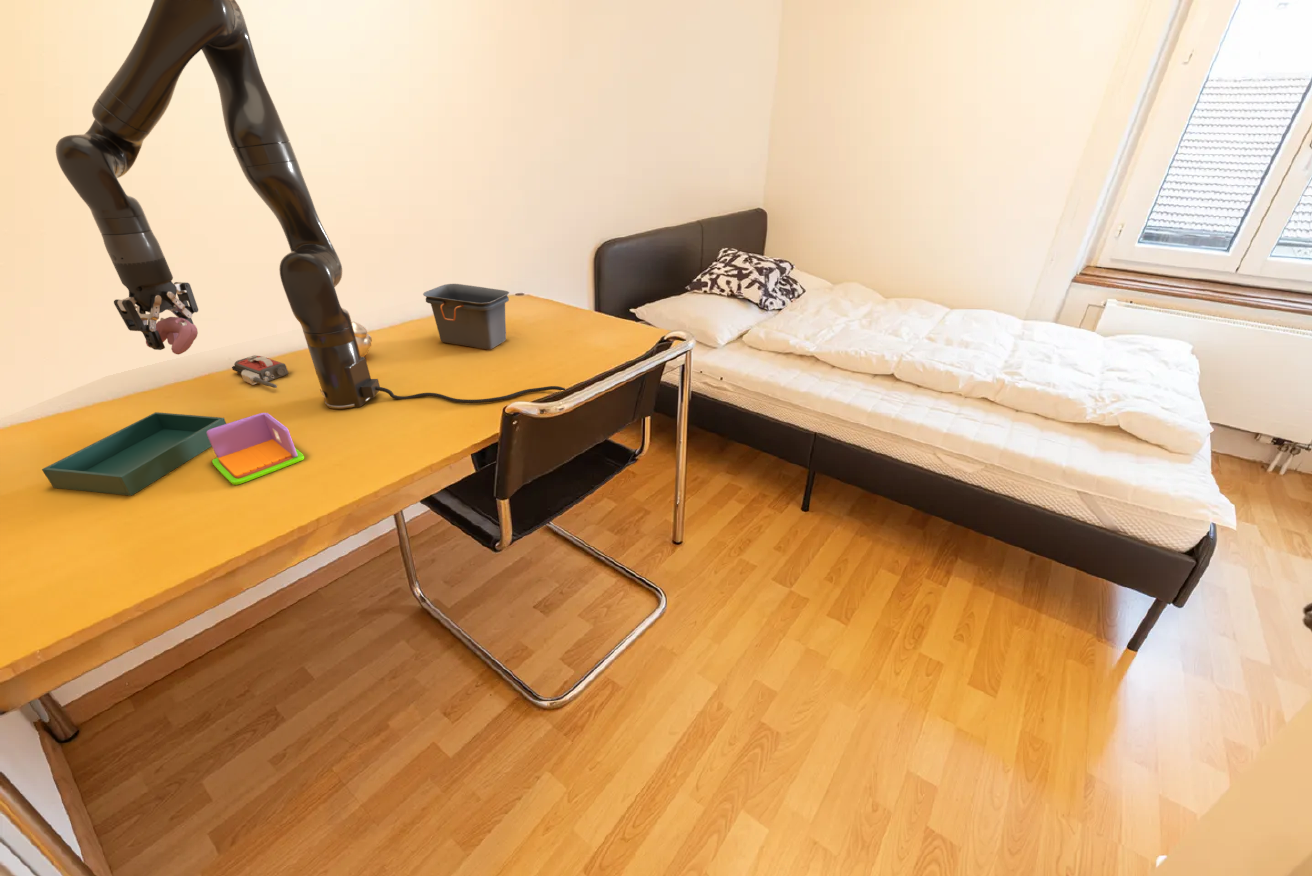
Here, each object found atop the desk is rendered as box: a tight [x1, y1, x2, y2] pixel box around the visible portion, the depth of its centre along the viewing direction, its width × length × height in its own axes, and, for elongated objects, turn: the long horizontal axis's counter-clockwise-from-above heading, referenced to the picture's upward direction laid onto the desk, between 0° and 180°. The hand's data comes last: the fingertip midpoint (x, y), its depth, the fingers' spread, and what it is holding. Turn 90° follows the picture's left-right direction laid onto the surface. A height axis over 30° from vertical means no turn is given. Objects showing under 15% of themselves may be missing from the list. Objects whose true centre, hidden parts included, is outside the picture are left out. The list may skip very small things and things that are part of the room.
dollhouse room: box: [207, 412, 305, 486], centre depth 102 cm, size 12×12×7 cm
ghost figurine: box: [351, 321, 373, 357], centre depth 145 cm, size 9×10×10 cm
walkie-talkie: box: [231, 354, 289, 389], centre depth 135 cm, size 9×4×20 cm
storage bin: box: [422, 283, 510, 351], centre depth 155 cm, size 21×16×14 cm
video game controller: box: [145, 316, 199, 356], centre depth 111 cm, size 10×5×7 cm, turn 66°
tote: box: [41, 411, 227, 497], centre depth 103 cm, size 15×21×4 cm
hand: (175, 342), depth 111 cm, fingers closed on video game controller, 6 cm apart
